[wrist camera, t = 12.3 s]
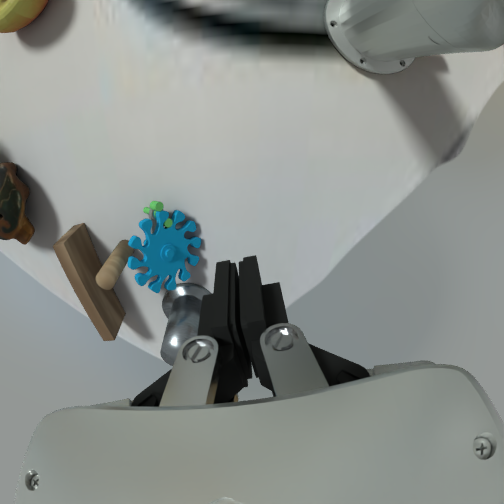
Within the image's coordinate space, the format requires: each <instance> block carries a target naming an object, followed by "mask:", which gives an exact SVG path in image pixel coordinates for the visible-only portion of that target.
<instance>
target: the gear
mask: <svg viewBox="0 0 504 504" xmlns="http://www.w3.org/2000/svg"><path fill="white" fill-rule="evenodd" d="M143 211H144V213H147V214H149V219H144V220H142V221H140V222H139V227H140V228H141V229H142V230H143V231H144V233H145V235H146V240H145V241H144V246H142V244H141V239H140V238H139V237H137V236H134V235H133V236H132V237H131V239H130V240H129V242H128V245H129V246H130V247H132V248H134V249H139V250H140V251H141V252H142V253H143V254H144V258H143V260H141V261H139V260H138V259H137V258H135V257H134V256H130V257H129V258H128V267H129V268H131V269H133V270H134V269H137V268H138V267H141V266H146V267H148V271H147V273H145V274H142V273H137V274H136V275H135V280H136V282H137V283H138V284H139V285H140V286H143V285H145V284H146V282H147V281H148V280H149V279H150V278H151V277H153V276H155V275H158V277H157V279H156V280H155V281H152V282H150V283H149V285H148V287H149V289H151V290H152V291H154V292H156V293H159V292H160V289H161V284H162V282H163V280H164V279H165V278H166V277H167V276H168V275H169V279H168V280H167V281H166V282H165V284H164V287H165V288H166V289H167V290H175V289H176V287H177V285H176V282H175V277H176V273H177V271H178V269H180V272H179V275H178V276H179V279H180V280H182V281H186V280H187V279H189V278H190V273H189V272H188V271H187V270H186V268H185V259H186V258H187V259H188V263H189V264H191V265H193V266H195V265H196V264H197V263H198V261H199V257H198V256H196V255H193V254H190V253H189V251H188V250H187V246H188V245H189V244H190V245H191V246H192V247H195V248H199V247H200V244H201V239H200V238H198V237H192V238H190V239H185V238H184V233H185V232H186V231H190V232H194V231H195V230H196V225H195V222H194V221H191V220H189V221H187V222H186V223H185V225H184V226H182V227H181V228H179V229H176V228H175V226H176V224H177V223H178V222H182V221H183V220H184V219H185V215H184V214H183V213H182V212H180V211H178V210H175V211H174V212H173V215H172V219H169V218H168V217H169V212H167V211H163V203H161V202H158V201H152V202H151V203H150V208H148V207H145V208H144V209H143ZM164 226H165V228H164Z"/></svg>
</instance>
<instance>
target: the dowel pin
mask: <svg viewBox="0 0 504 504" xmlns="http://www.w3.org/2000/svg"><path fill="white" fill-rule="evenodd" d="M128 242H129V241H128V240H122V241H120V242H119V244H118V245H117V246H116V248H115V249H114V250H113V252H112V253H111V255H110V256H109V258H108V259H107V260H106V262H105V263H104V265H103V266H102V268H101V269H100V271H99V272H98V274H97V275H96V282H97V284H98V285H99V286H100V287H101V288H103V289H105V290H110V289H112V288H113V287H114V285H115V283H116V281H117V279H118V278H119V276H120V274H121V272H122V271H123V269H124V267H125V266H126V264H127V262H128V258H129V257H130V256H131V255H132V254H133V252H134V248H132V247H130V246H129V245H128Z"/></svg>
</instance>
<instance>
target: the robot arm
mask: <svg viewBox="0 0 504 504" xmlns="http://www.w3.org/2000/svg"><path fill="white" fill-rule="evenodd" d="M324 23H325V28H326V31H327V34H328V36H329V38H330V40H331V42H332V43H333V45H334V46H335V48H336V49H337V50H338V51H339V52H340V54H342V55H343V56H344V57H345V58H346V59H347V60H348V61H350V62H351V63H352V64H354V65H355V66H357V67H359V68H361V69H363V70H365V71H369V72H372V73H377V74H391V73H397V72H399V71H402V70H404V69H406V68H407V67H408V66H410V64H411V63H412V62H413V61H414V59H415V57H422V56H430V55H439V54H450V53H465V52H483V51H490V50H494V49H496V48H498V47H500V46H501V45H503V44H504V0H328V2H327V3H326V6H325V10H324ZM330 24H332V25H333V27H332V26H331V25H330ZM360 60H361V61H362V63H360ZM251 362H252V366H253V369H254V372H255V375H256V378H258V377H259V379H260V383H261V385H262V386H264V387H266V388H268V389H269V390H271V391H272V394H273V397H270V398H263V399H256V400H248V401H240V402H238V392H239V391H240V390H241V389H242V388H244V387H247V386H248V381H247V379H250V378H252V366H251ZM14 504H504V423H503V421H502V419H501V417H500V415H499V413H498V412H497V410H496V408H495V406H494V404H493V403H492V401H491V399H490V398H489V396H488V395H487V393H486V392H485V390H484V389H483V387H482V386H481V385H480V383H479V382H478V381H477V380H476V379H475V378H474V376H473V375H471V374H470V373H469V372H468V371H466V370H465V369H463V368H460V367H457V366H453V365H445V364H434V363H433V362H430V361H416V362H407V363H399V364H389V365H378V366H374V368H373V369H365V368H364V367H362V366H360V365H359V364H356V363H354V362H351V361H349V360H346V359H343V358H341V357H339V356H337V355H334V354H332V353H329V352H327V351H325V350H322V349H320V348H318V347H315V346H313V345H311V344H309V343H308V342H307V340H306V338H305V336H304V334H303V332H302V331H301V330H300V328H298V327H297V326H295V325H292V324H289V323H288V319H287V315H286V310H285V305H284V301H283V296H282V292H281V287H280V283H279V282H278V283H272V284H266V285H262V283H261V278H260V272H259V267H258V262H257V257H256V255H255V256H250V257H244V258H243V261H241V262H239V276H238V271H237V267H236V264H235V263H231V262H230V260H227V261H222V262H217V263H216V273H215V283H214V293H213V294H207V295H203V297H202V304H201V311H200V318H199V326H198V334H197V336H196V337H193V338H190V339H189V340H187V341H185V342H184V343H183V344H182V345H181V347H180V349H179V351H178V354H177V357H176V359H175V362H174V365H173V368H172V369H171V370H170V371H168V372H167V373H166V374H164V375H163V376H162V377H161V378H159V379H158V380H157V381H156V382H154V383H153V384H151V385H150V386H149V387H148V388H146V389H145V390H144V391H142V392H141V393H140V394H138V395H137V396H136V397H135V398H134V400H133V401H131V400H130V399H124V400H119V401H113V402H108V403H102V404H96V405H90V406H75V407H68V408H63V409H60V410H56V411H54V412H52V413H50V414H48V415H46V416H45V417H44V418H43V419H42V420H41V421H40V423H39V424H38V426H37V427H36V430H35V431H34V434H33V436H32V438H31V441H30V444H29V446H28V449H27V452H26V455H25V458H24V462H23V465H22V468H21V473H20V477H19V481H18V486H17V490H16V495H15V501H14Z"/></svg>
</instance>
